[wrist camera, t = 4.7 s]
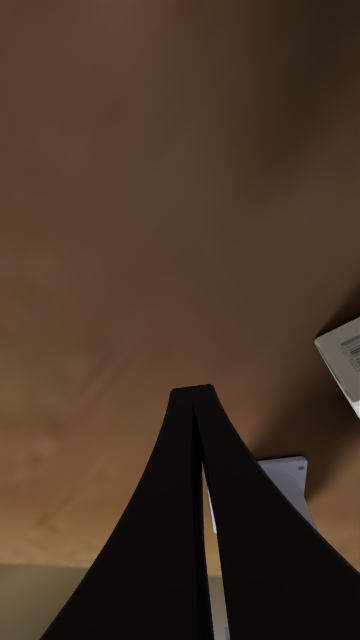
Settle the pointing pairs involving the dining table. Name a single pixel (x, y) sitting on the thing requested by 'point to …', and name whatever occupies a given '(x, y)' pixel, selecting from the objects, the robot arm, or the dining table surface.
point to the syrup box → (344, 359)
